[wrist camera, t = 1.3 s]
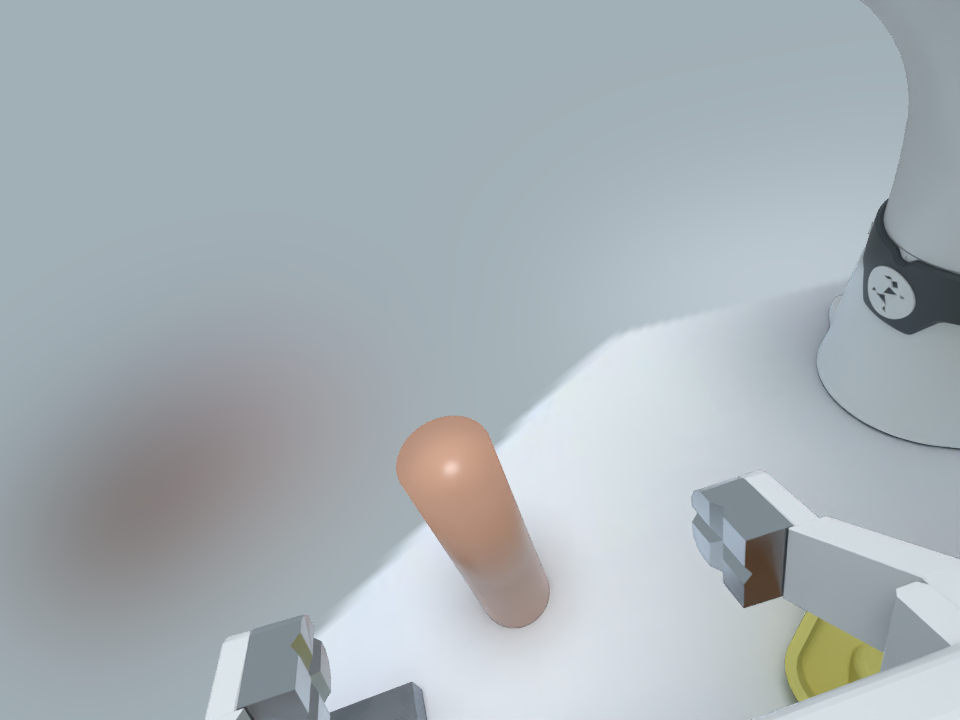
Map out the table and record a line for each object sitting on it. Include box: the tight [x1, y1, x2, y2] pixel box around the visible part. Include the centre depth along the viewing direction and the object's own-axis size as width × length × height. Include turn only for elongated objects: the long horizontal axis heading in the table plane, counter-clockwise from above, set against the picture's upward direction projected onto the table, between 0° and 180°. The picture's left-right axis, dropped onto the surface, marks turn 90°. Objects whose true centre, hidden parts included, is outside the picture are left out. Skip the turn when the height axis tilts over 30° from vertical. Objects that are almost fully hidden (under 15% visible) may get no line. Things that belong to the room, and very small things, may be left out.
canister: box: [396, 416, 549, 628], centre depth 34 cm, size 5×5×18 cm
